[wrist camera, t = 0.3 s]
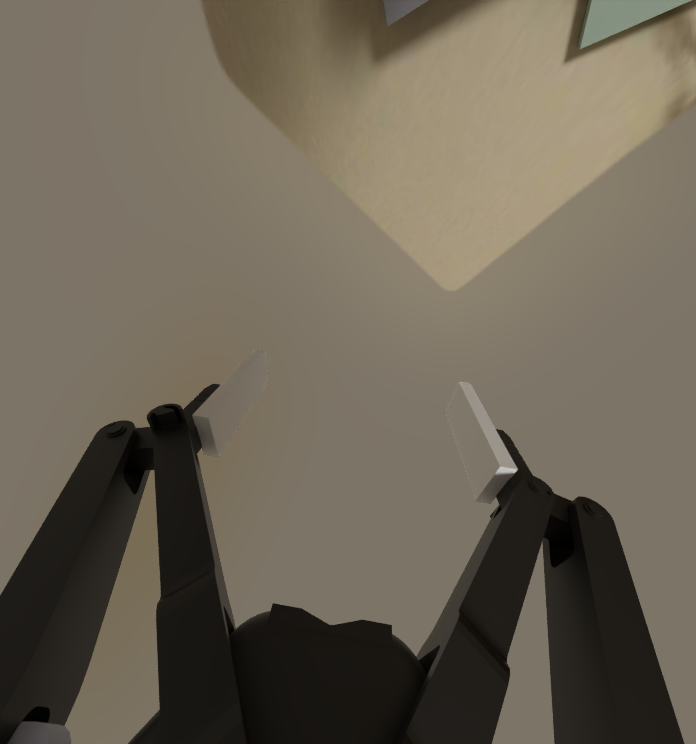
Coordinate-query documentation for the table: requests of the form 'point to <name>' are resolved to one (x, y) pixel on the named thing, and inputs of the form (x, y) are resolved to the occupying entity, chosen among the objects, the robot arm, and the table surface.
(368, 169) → the table surface
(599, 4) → the mat
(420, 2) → the block
